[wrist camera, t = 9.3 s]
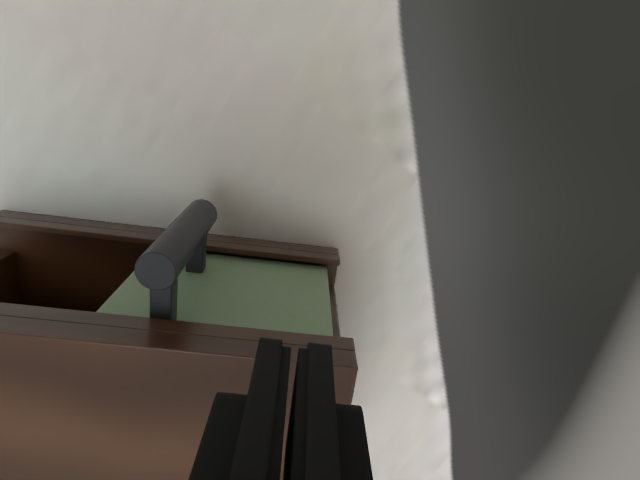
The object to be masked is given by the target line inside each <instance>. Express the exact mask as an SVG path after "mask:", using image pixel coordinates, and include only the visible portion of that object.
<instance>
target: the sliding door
mask: <svg viewBox="0 0 640 480" xmlns="http://www.w3.org/2000/svg"><path fill="white" fill-rule="evenodd" d="M216 219H217V211H216V208H215V206H214V205H213V204H212V203H211V202H209V201H207V200H203V199H200V200H196V201H194V202H192V203H191V204H190V205H189V206H188V207H187V208H186V209H185V210H184V211H183V212H182V213H181V214H180V216H179V217H178V218H177V219H176V220H175V221H174V222H173V223H172V224H171V225H170V226H169V227H168V228H167V229H166V230H165V231H164V232H163V233H162V234H161V235H160V236H159V237H158V238H157V239H156V240H155V241H154V242H153V244H152V245H151V246H150V247H149V248H148V249H147V250H146V251H145V252H144V253H143V254H142V255H141V256H140V257H139V258H138V259H137V261H136V263H135V267H134V271H133V273H132V274H131V275H130V276H129V277H128V278H127V279H126V280H125V281H124V282H123V283H122V284H121V286H120V287H119V288H118V289H117V290H116V291H115V292H114V293H113V294H112V295H111V296H110V297H109V299H108V300H107V301H106V302H105V303H104V304H103V305H102V306H101V307H100V308H99V309H98V310H97V311H96V312H99V313H109V314H119V315H129V316H138V317H148V318H158V319H168V320H178V321H187V322H197V323H207V324H217V325H227V326H236V327H246V328H256V329H266V330H275V331H285V332H295V333H305V334H315V335H324V336H333V327H332V316H331V305H330V294H329V284H328V273H327V267H324V266H315V265H306V264H297V263H288V262H280V261H271V260H262V259H253V258H244V257H235V256H226V255H217V254H208V253H206V249H207V233H208V231H209V230H210V228H211V227H212V226H213V224H214V223H215V221H216Z"/></svg>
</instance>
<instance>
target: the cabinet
mask: <svg viewBox="0 0 640 480" xmlns="http://www.w3.org/2000/svg"><path fill="white" fill-rule="evenodd" d="M165 230H166V229H161V228H153V227H144V226H135V225H127V224H118V223H109V222H100V221H92V220H83V219H74V218H66V217H57V216H48V215H39V214H31V213H22V212H13V211H5V210H1V211H0V480H189V476H190V473H191V470H192V467H193V464H194V461H195V458H196V454H197V451H198V448H199V445H200V442H201V439H202V436H203V433H204V429H205V426H206V423H207V420H208V417H209V414H210V411H211V407H212V404H213V401H214V398H215V395H216V393H217V392H226V393H236V394H246V395H247V394H248V390H249V385H250V380H251V376H252V371H253V366H254V362H255V357H256V352H257V348H258V343H259V339H260V337H264V338H273V339H282V340H283V343H282V346H289V347H291V357H290V369H289V380H288V392H287V404H286V416H285V427H284V439H283V451H282V463H281V474H280V480H283V470H284V457H285V447H286V438H287V431H288V423H289V416H290V408H291V401H292V393H293V385H294V378H295V370H296V363H297V355H298V348H307V346H308V342H311V343H320V344H329V345H332V357H333V371H334V385H335V399H336V403H337V404H347V405H351V402H352V397H353V392H354V386H355V381H356V376H357V370H358V366H357V360H356V354H355V348H354V342H353V338H344V337H340V330H339V322H338V314H337V305H336V297H335V288H334V284H335V278H336V271H337V265H338V266H339V264H340V258H339V253H338V249H336V248H327V247H318V246H310V245H301V244H292V243H283V242H275V241H266V240H257V239H249V238H240V237H231V236H222V235H214V234H207V249H206V253H208V254H217V255H226V256H235V257H244V258H253V259H262V260H271V261H280V262H288V263H297V264H306V265H315V266H324V267H327V273H328V284H329V294H330V305H331V316H332V327H333V336H324V335H315V334H305V333H295V332H285V331H275V330H266V329H256V328H246V327H236V326H227V325H217V324H207V323H197V322H187V321H178V320H168V319H158V318H148V317H138V316H129V315H119V314H109V313H99V312H96V311H97V310H98V309H99V308H100V307H101V306H102V305H103V304H104V303H105V302H106V301H107V300H108V299H109V297H110V296H111V295H112V294H113V293H114V292H115V291H116V290H117V289H118V288H119V287H120V286H121V284H122V283H123V282H124V281H125V280H126V279H127V278H128V277H129V276H130V275H131V274H132V273H133V271H134V267H135V263H136V261H137V259H138V258H139V257H140V256H141V255H142V254H143V253H144V252H145V251H146V250H147V249H148V248H149V247H150V246H151V245H152V244H153V242H154V241H155V240H156V239H157V238H158V237H159V236H160V235H161V234H162V233H163V232H164V231H165Z"/></svg>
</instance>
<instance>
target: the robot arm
mask: <svg viewBox="0 0 640 480" xmlns="http://www.w3.org/2000/svg"><path fill="white" fill-rule="evenodd" d="M282 343H283V340H282V339H273V338H264V337H260V339H259V343H258V348H257V352H256V357H255V362H254V366H253V371H252V376H251V380H250V385H249V390H248V394H247V395H246V394H236V393H226V392H217V393H216V395H215V398H214V401H213V404H212V407H211V411H210V414H209V417H208V420H207V423H206V426H205V429H204V433H203V436H202V439H201V442H200V445H199V448H198V451H197V454H196V458H195V461H194V464H193V467H192V470H191V473H190V476H189V480H280V474H281V463H282V451H283V439H284V427H285V416H286V404H287V392H288V380H289V369H290V357H291V347H289V346H282ZM283 480H373V477H372V470H371V464H370V457H369V450H368V444H367V437H366V431H365V424H364V417H363V412H362V408H361V406H357V405H347V404H337V403H336V399H335V385H334V371H333V357H332V345H329V344H320V343H311V342H308V346H307V348H298V355H297V363H296V370H295V378H294V385H293V393H292V401H291V408H290V416H289V423H288V431H287V438H286V447H285V457H284V470H283Z"/></svg>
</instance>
